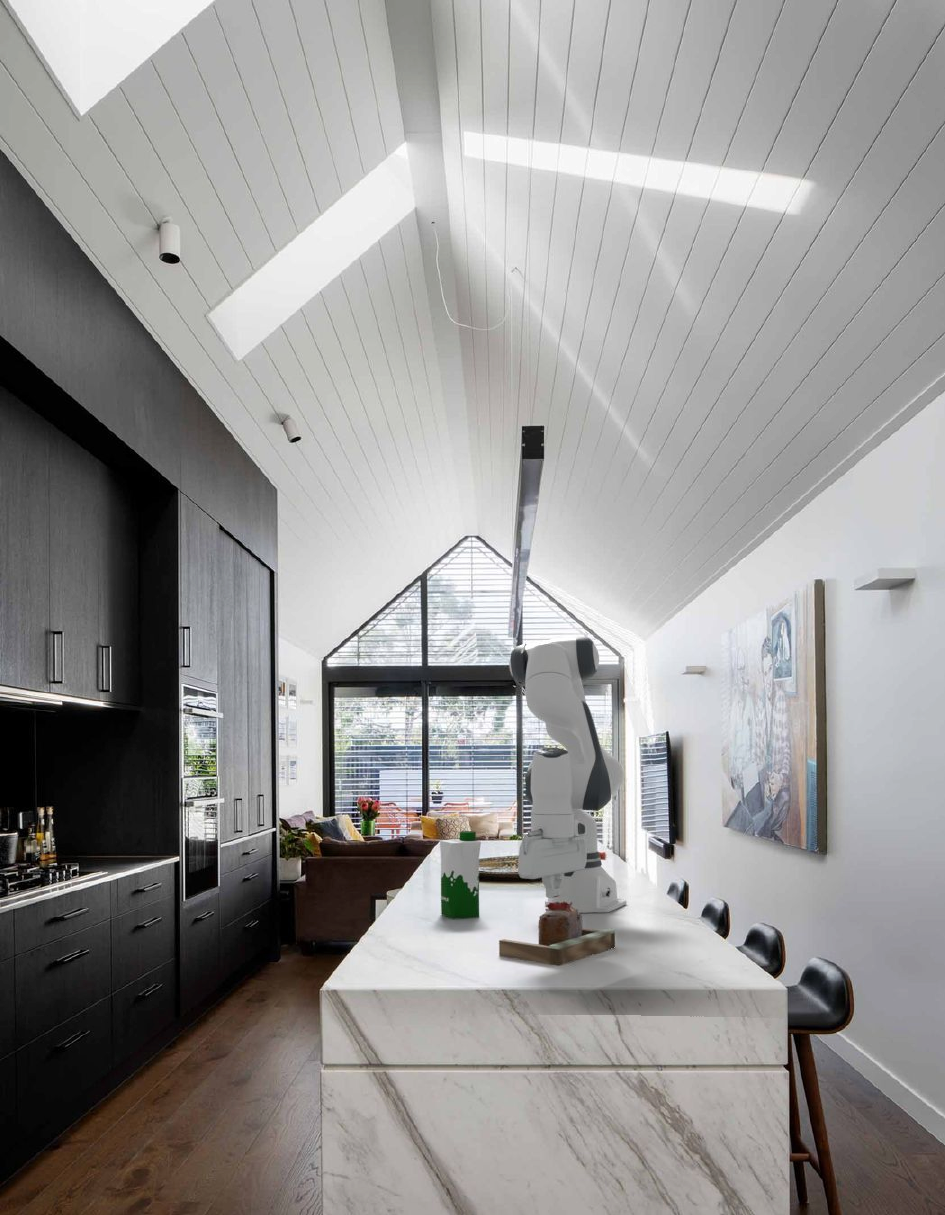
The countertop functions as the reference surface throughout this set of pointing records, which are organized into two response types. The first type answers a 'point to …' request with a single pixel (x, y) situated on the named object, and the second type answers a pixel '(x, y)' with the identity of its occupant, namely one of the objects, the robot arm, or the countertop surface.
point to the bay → (560, 948)
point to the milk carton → (460, 876)
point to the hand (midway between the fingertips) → (553, 897)
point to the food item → (559, 924)
